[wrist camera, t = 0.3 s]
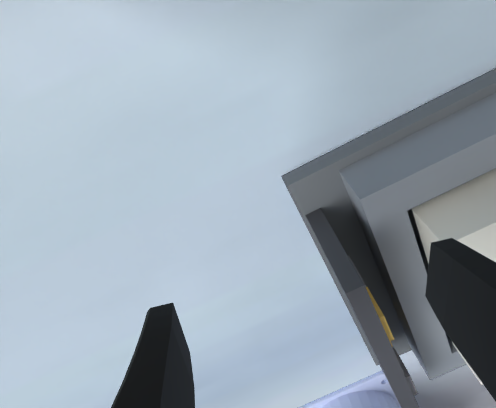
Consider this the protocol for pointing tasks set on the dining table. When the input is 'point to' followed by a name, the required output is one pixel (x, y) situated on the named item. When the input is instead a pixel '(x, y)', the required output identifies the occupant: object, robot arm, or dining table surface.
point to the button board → (396, 221)
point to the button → (462, 216)
